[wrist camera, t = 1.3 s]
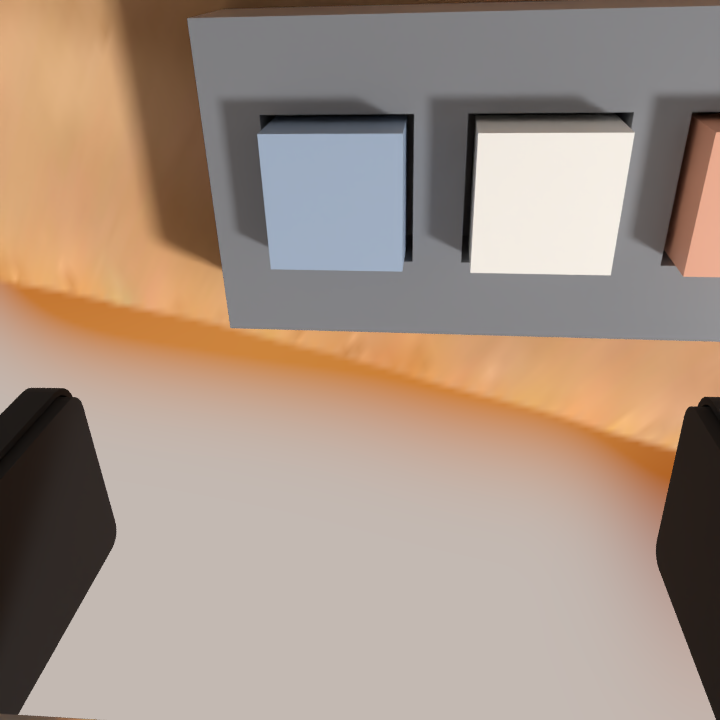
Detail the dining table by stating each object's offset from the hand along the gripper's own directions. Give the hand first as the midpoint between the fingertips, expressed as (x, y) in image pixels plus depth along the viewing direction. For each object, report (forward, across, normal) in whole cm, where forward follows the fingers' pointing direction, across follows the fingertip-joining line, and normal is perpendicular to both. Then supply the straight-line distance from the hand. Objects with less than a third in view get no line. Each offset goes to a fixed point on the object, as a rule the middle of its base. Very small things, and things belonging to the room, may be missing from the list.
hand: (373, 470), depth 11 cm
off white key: (+18, -5, 0) cm, 19 cm away
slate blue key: (+18, +3, 0) cm, 19 cm away
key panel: (+22, -5, 0) cm, 22 cm away
